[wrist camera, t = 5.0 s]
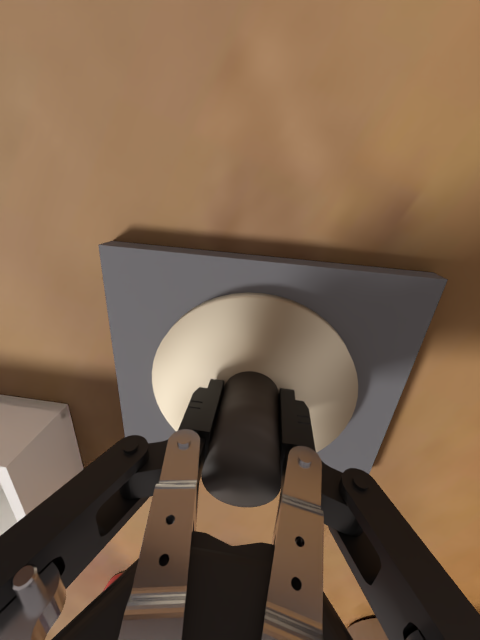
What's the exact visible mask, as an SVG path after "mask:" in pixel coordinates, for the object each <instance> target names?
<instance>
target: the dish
mask: <svg viewBox="0 0 480 640" xmlns="http://www.w3.org/2000/svg"><path fill="white" fill-rule="evenodd" d="M82 470H83V465H82V461H81V457H80V453H79V448H78V444H77V440H76V436H75V432H74V428H73V423H72V419H71V415H70V411H69V407H68V404H63V403H56V402H49V401H42V400H35V399H28V398H21V397H14V396H7V395H0V536H1V535H2V534H3V533H4V532H6V531H7V530H8V529H9V528H11V527H12V526H13V525H14V524H16V523H17V522H18V521H19V520H21V519H22V518H23V517H24V516H26V515H27V514H28V513H29V512H31V511H32V510H33V509H34V508H36V507H37V506H38V505H39V504H41V503H42V502H43V501H44V500H46V499H47V498H48V497H49V496H51V495H52V494H53V493H54V492H56V491H57V490H58V489H60V488H61V487H62V486H63V485H65V484H66V483H67V482H68V481H70V480H71V479H72V478H73V477H75V476H76V475H77V474H78V473H80V472H81V471H82Z"/></svg>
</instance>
